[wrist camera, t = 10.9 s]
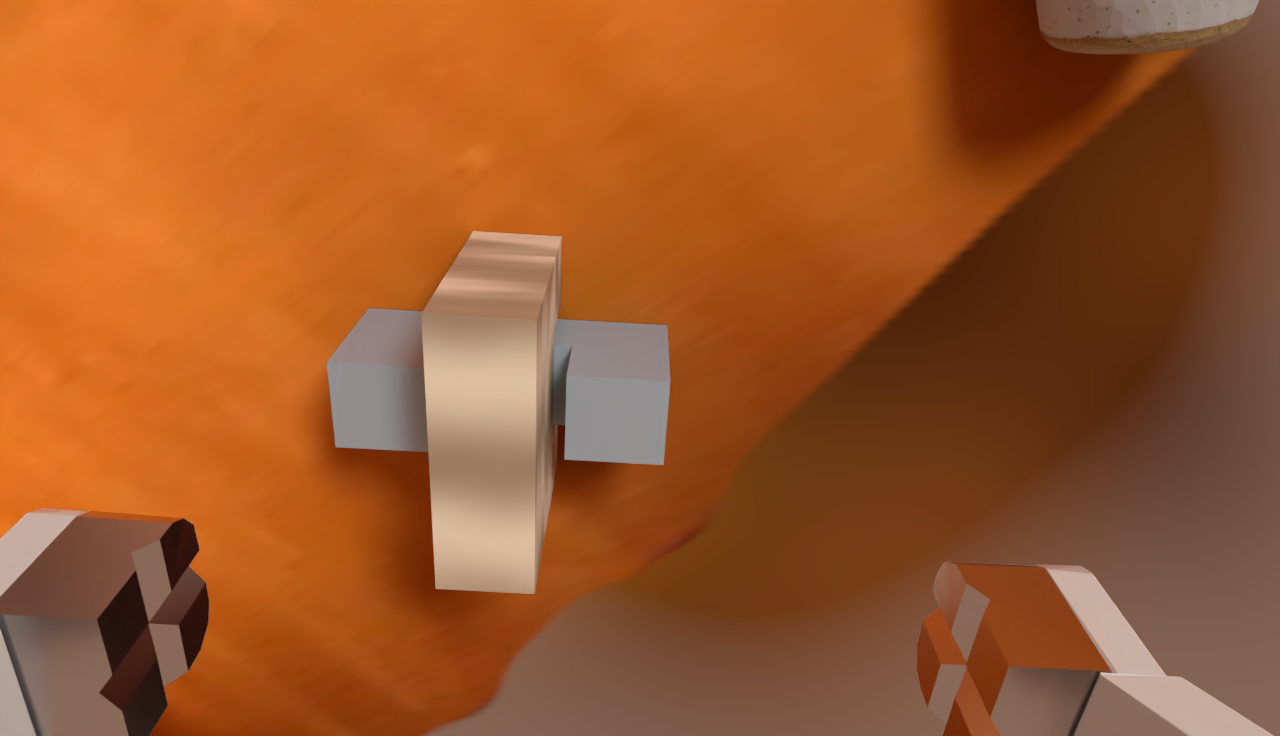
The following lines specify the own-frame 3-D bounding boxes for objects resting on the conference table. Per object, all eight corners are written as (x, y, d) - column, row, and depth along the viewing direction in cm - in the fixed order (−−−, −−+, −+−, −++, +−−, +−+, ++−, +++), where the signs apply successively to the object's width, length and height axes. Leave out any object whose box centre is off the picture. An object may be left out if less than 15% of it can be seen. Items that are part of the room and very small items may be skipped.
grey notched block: (375, 384, 42) (335, 447, 37) (369, 308, 41) (326, 362, 35) (661, 400, 43) (663, 464, 37) (667, 325, 41) (670, 381, 36)
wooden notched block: (557, 464, 44) (534, 593, 35) (478, 459, 44) (435, 588, 35) (562, 236, 39) (536, 320, 30) (473, 231, 39) (421, 313, 30)
